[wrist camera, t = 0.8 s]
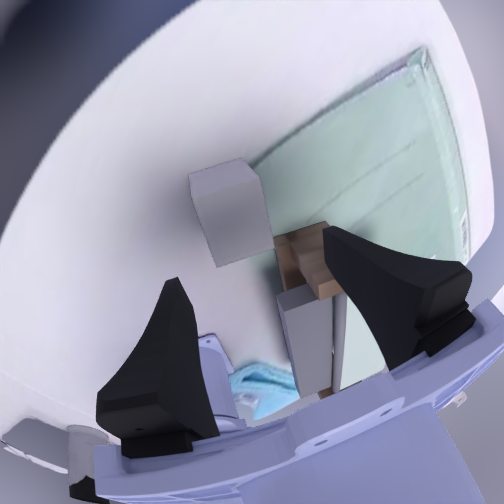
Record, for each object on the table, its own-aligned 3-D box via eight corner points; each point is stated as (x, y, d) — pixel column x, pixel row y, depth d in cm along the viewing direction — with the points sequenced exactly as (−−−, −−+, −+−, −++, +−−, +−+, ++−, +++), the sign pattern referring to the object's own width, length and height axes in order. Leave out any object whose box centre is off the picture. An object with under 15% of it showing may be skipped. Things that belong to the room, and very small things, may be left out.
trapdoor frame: (297, 366, 37) (315, 407, 31) (272, 238, 24) (304, 290, 18) (330, 353, 37) (350, 392, 31) (325, 220, 24) (368, 265, 19)
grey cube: (207, 231, 22) (216, 267, 18) (188, 174, 19) (192, 199, 15) (255, 215, 22) (274, 248, 18) (241, 157, 20) (259, 178, 16)
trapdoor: (295, 387, 32) (303, 406, 30) (274, 290, 22) (287, 317, 19) (373, 353, 33) (384, 370, 31) (392, 245, 23) (412, 264, 20)
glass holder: (77, 421, 35) (77, 495, 22) (138, 442, 43) (146, 507, 30) (61, 429, 36) (59, 494, 24) (117, 449, 44) (122, 508, 32)
